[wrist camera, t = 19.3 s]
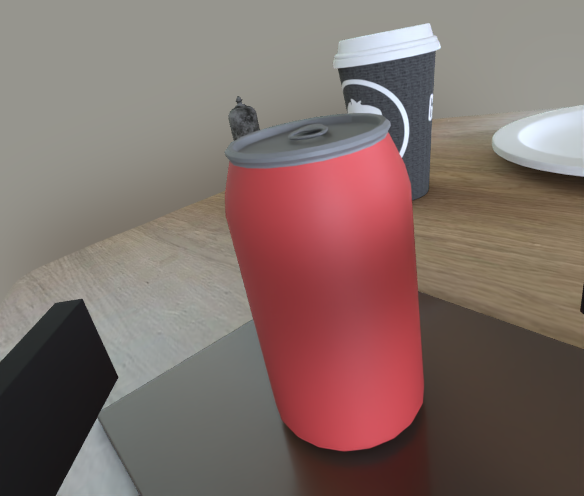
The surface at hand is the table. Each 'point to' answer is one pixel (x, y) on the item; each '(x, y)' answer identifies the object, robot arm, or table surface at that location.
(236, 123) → the salt shaker
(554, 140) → the plate
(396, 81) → the coffee cup
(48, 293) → the table surface
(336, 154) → the beer can
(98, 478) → the table surface
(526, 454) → the back mat
